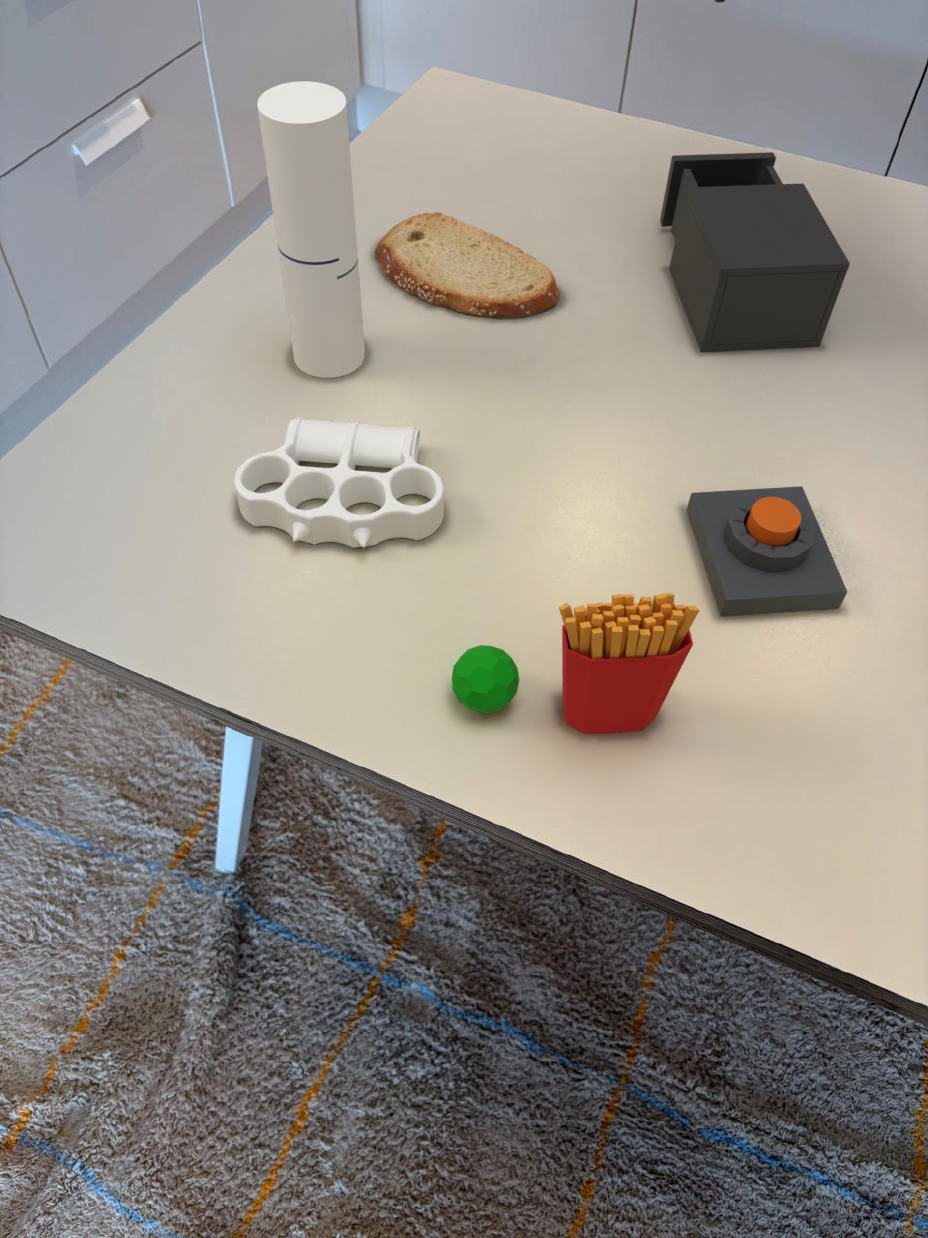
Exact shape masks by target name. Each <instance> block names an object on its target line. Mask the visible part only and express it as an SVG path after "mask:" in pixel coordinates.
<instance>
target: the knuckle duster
mask: <svg viewBox="0 0 928 1238" xmlns="http://www.w3.org/2000/svg"><path fill="white" fill-rule="evenodd" d="M420 438H421V430H420V428H417V426H412V425H409V426H408V427H403V426H391V425H379V424H367V423H361V422H360V421H352V422H343V421H332V420H331V421H330V420H318V419H307V418H304V417H299V416H297V417H295V418H294V417H293V418H291V420H290V421H289V423H288V426H287V429H286V434H285V440H284V443H283V444H282V445H281V446H280V447H278V448H276V449H275V450H273V451H267V452H262V453H258V454H255V455H253V456H250V457H249V458H247V459H246V460H245V461H243V462H242V463H241V464H240V466H238V468H237V470H236V471H235V474H234V477H233V487H234V492H235V495H236V499H237V504H238V508H239V512H240V514H241V516H242V517H243V519H244V520H245V521H246V522H247V523H248V524H250V525H252V526H253V527H255V528H257V527H272V528H276V529H279V530H282V531H284V532H285V533H287V534H289V536H291V538H292V543H295V542H298V541H301V542H304V543H307V544H310V545H317V544H322V543H337V544H342V545H345V546H348V547H349V548H352V549H355V548H362V549H366V547H371V546H372V547H373V546H376V545H377V544H379V543H381V542H384V541H386V540H391V539H397V538H398V539H401V538H403V539H410V540H414V541H419V540H423V539H425V538H428V537H430V536H431V535H433V534H434V533H435V532H436V531H437V530H438V529H439V528H440V526H441V525H442V523H443V520H444V517H445V488H444V487H445V486H444V484H443V480H442V479H441V477H440V475H438V473H437V472H436V471H434V469H432V468H430V467H428V466H426V465H424V464H420V463H418V456H419V449H420V448H419V447H420ZM301 462H311V463H323V464H324V463H325V464H337V465H336V466H334V467H317V466H307V465H306V466H303V465H300V463H301ZM357 466H361V467H374V468H385V469H390V470H389V471H387V472H377V471H376V472H375V471H363V470H356V468H357ZM271 483H272V484H273V483H280V484H281V485H280V486H279V487H278V488H276V489H273V490H271V491H267V492H255V491H256V490H257V489H259V488H260V487H262V486H264V485H267V484H271ZM407 495H419V496H423V497H425V498H427V499H429V501H428V502H425V503H423V504H419V505H409V504H404V503H402V502H400V501H398V499H400V498H401V497H404V496H407ZM314 499H320V500H321V499H322V500H326V502H325V503H324V504H322V505H321V506H319V507H316V508H313V509H299V508H297V507H299V506H300V505H301V504H302V503H304V502H306V501H308V500H314ZM362 503H369V504H370V503H371V504H374V505H376V506H378V507H380V508H379V509H378V510H377V511H374V512H372V513H367V514H357V513H353V512H350V511H348V510H347V509H349V508H350V507H352V506H353V505H357V504H362Z"/></svg>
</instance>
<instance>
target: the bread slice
mask: <svg viewBox="0 0 928 1238" xmlns="http://www.w3.org/2000/svg"><path fill="white" fill-rule="evenodd" d="M374 255H375V258H376V259H377V260H378V261H379V264H380V267H381V269H382V271H383V272H384V274H385V275H386V276H387V277H388V278H389V279H390V281H392V282H393V283H394V284H395V285H396V286H398V287H399V288H401V289H404V290H406V291H407V292H408V294H411V295H413V296H415V297H417V298H418V299H421V300H423V301H425V302H428V303H429V304H431V305H434V306H435V305H437V306H444V307H446V308H449V309H452V310H454V311H456V312H457V313H462V314H467V315H471V316H479V317H480V316H481V317H489V318H501V319H504V318H516V317H527V316H531V315H535V314H539V313H542V312H545V311H547V310H549V309H550V308H552V307H556V306H557V303H558V302H559V301H560V295H561V293H560V290H559V288H558V285H557V283H556V279H555V277H554V274H553V272H552V271H551V270H550V268H549V267H547V266H545V265H544V264H543V263H542V262H541V261H539V260H537V259H536V257H533V256H532V255H531V254H529V253H525V252H524V251H523V250H522V249H520V248H519V247H517V246H515V245H513V244H511V243H509V242H508V241H506V240H504V239H502V238H501V237H499V236H497V235H496V236H495V235H494V234H493V233H489V232H487V231H486V230H483V229H480V228H478V227H477V226H474V225H472V224H470V223H466V222H464V221H461V220H459V219H456V217H454V216H451V215H446V214H442V212H440V211H436V212H433V213H432V212H430V213H429V212H423V213H421V214H417V215H413V216H411V217H409V218H407V219H405V220H402V221H401V222H399V223H397V224H395V225H394V226H393V227H391V229H390V230H389V231H387V232H386V234H385V235H384V236H383V237H382V238H381V239H380V240H379V242H378V244H377V246H376V248H375V251H374Z"/></svg>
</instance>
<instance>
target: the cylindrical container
mask: <svg viewBox="0 0 928 1238" xmlns="http://www.w3.org/2000/svg"><path fill="white" fill-rule="evenodd" d="M256 107H257V112H258V119H259V127H260V134H261V141H262V148H263V154H264V161H265V167H266V169H265V170H266V175H267V182H268V188H269V189H268V190H269V195H270V203H271V209H272V217H273V223H274V230H275V237H276V244H277V251H278V257H279V258H278V259H279V264H280V271H281V272H280V273H281V278H282V286H283V292H284V297H285V298H284V299H285V306H286V313H287V319H288V327H289V334H290V340H291V347H292V355H293V361H294V363H295V365H296V367H297V368H298V369H299V370H300V371H302V372H303V373H305V374H306V375H309V376H311V377H316V378H321V379H334V378H340V377H344V376H347V375H349V374H351V373H353V372H355V371H356V370H358V369H359V368H360V367H361V366H362V364H363V363H364V361H365V357H366V349H365V336H364V335H365V334H364V323H363V322H364V321H363V309H362V295H361V281H360V267H359V266H360V265H359V255H358V252H359V251H358V242H357V240H358V239H357V227H356V214H355V203H354V189H353V186H354V185H353V175H352V174H353V173H352V162H351V160H352V159H351V148H350V146H351V145H350V134H349V133H350V132H349V121H348V108H347V98H346V96H345V94H344V93H343V92H342V90H340V89H338V88H337V87H335V86H332V85H330V84H327V83H322V82H318V81H308V80H307V81H306V80H305V81H291V82H285V83H281V84H278V85H276V86H273V87H270V88H268V89H267V90H266V91H264V92H262V93H261V95H260V96H259V97H258V99H257V106H256Z"/></svg>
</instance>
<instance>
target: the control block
mask: <svg viewBox="0 0 928 1238" xmlns="http://www.w3.org/2000/svg"><path fill="white" fill-rule="evenodd" d="M765 497H778V498H782V499H785V500H787V501H789V502H791V503H792V504H794V505H795V506H796V507H797V508H798V510H799V512H800V514H801V523H800V526H799V528H798V530H797V533H796V535H795V537H794V539H793V540H792V541H791V542H790V543H788V544H786V545H784V546H769V545H766V544H763V543H760V542H758V541H756V540H755V539H754V538H753V537H752V536H751V535H750V534H749V532H748V529H747V520H748V517H749V515H750V512H751V509H752V506H753V505H754V503H755V502H756V501H758V500H760V499H762V498H765ZM686 513H687V517H688V520H689V522H690V526H691V529H692V533H693V535H694V538H695V541H696V544H697V547H698V551H699V553H700V556H701V560H702V563H703V566H704V569H705V572H706V575H707V578H708V581H709V585H710V587H711V590H712V594H713V598H714V600H715V603H716V605H717V610H718V613H719V616H720V617H732V616H733V617H734V616H748V615H765V614H775V613H776V614H777V613H792V612H807V611H822V610H837V609H840V607H841V605H842V604H843V602H844V600H845V598H846V596H847V594H848V590H847V586H846V585H845V583H844V580H843V578H842V575H841V573H840V571H839V569H838V566H837V563H836V561H835V560H834V557H833V555H832V553H831V550H830V548H829V545H828V543H827V541H826V538H825V535H824V534H823V531H822V528H821V527H820V523H819V522H818V520H817V518H816V515H815V513H814V510H813V508H812V506H811V503H810V500H809V498H808V496H807V494H806V491H805V489H804V487H803V486H802V485H801V486H799V485H798V486H784V487H782V486H781V487H768V488H767V487H766V488H765V487H764V488H750V489H734V490H733V489H731V490H716V491H715V490H714V491H698V492H691V493H690V496H689V500H688V502H687V506H686Z"/></svg>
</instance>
